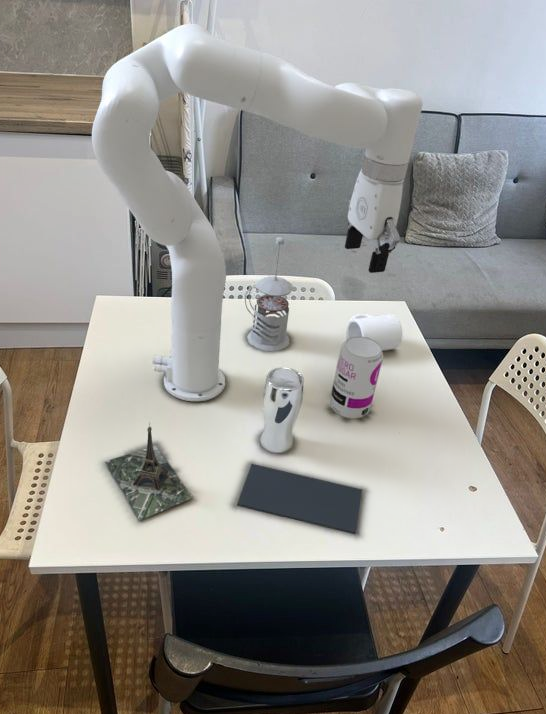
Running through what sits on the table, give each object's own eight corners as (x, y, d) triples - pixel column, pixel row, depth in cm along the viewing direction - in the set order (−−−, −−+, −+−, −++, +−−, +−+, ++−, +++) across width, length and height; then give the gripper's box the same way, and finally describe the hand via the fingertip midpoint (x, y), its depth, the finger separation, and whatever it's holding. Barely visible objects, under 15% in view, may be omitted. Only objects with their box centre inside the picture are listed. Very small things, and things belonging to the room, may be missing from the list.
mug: (397, 355, 146) (406, 325, 141) (359, 361, 143) (366, 331, 138) (373, 327, 154) (379, 298, 149) (336, 332, 151) (341, 303, 146)
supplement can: (374, 402, 131) (389, 342, 122) (362, 425, 125) (377, 363, 116) (337, 390, 134) (349, 329, 124) (323, 412, 128) (335, 350, 118)
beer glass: (256, 429, 122) (263, 366, 112) (292, 429, 123) (302, 366, 113) (259, 454, 116) (267, 390, 107) (297, 454, 117) (308, 391, 108)
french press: (276, 356, 142) (289, 252, 126) (232, 338, 146) (239, 235, 130) (297, 337, 148) (312, 236, 133) (255, 320, 153) (264, 221, 137)
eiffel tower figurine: (102, 463, 111) (97, 404, 103) (155, 445, 116) (154, 387, 108) (139, 522, 102) (136, 462, 94) (194, 499, 107) (197, 441, 98)
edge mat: (237, 505, 106) (237, 503, 106) (251, 465, 114) (251, 463, 114) (355, 534, 104) (355, 532, 103) (361, 490, 111) (362, 489, 111)
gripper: (342, 152, 115) (326, 240, 125) (390, 188, 102) (367, 283, 113) (379, 151, 117) (360, 238, 128) (429, 186, 105) (404, 279, 115)
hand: (363, 259), depth 120 cm, fingers open, 9 cm apart
